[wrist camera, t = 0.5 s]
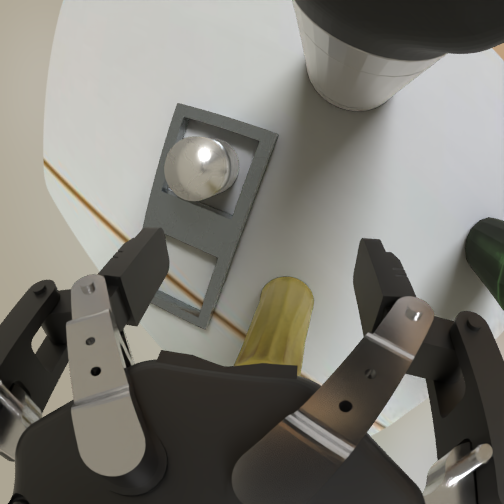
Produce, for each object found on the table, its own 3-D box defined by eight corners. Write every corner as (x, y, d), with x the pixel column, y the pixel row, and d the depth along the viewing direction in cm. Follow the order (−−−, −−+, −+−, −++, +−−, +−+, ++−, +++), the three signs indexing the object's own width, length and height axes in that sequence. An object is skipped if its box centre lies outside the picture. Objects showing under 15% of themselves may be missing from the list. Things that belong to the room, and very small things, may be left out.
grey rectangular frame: (183, 104, 29) (161, 98, 25) (278, 134, 28) (270, 130, 24) (136, 287, 38) (115, 303, 34) (209, 323, 37) (194, 345, 33)
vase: (295, 331, 35) (276, 422, 22) (251, 306, 35) (211, 389, 22) (324, 293, 33) (320, 381, 19) (277, 265, 33) (245, 341, 20)
